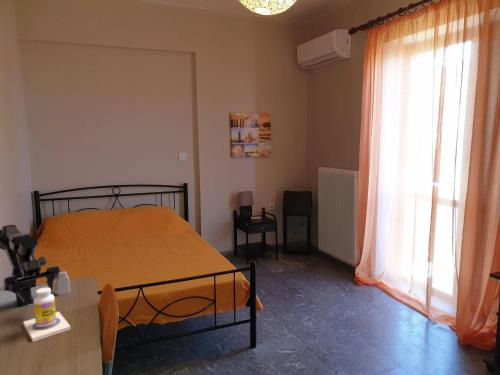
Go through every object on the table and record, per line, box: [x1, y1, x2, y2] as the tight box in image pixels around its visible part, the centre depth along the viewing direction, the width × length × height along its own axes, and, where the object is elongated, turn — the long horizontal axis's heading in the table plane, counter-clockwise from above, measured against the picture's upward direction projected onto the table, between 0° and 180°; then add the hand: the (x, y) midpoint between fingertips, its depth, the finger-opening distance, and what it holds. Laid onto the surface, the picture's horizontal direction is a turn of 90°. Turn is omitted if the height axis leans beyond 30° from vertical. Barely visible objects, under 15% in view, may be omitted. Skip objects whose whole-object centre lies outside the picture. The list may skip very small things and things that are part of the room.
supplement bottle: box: [33, 287, 57, 327], centre depth 133 cm, size 7×7×13 cm
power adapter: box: [54, 267, 71, 296], centre depth 163 cm, size 3×5×12 cm, turn 125°
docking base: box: [23, 311, 72, 343], centre depth 134 cm, size 16×12×1 cm
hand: (38, 297), depth 138 cm, fingers open, 9 cm apart
